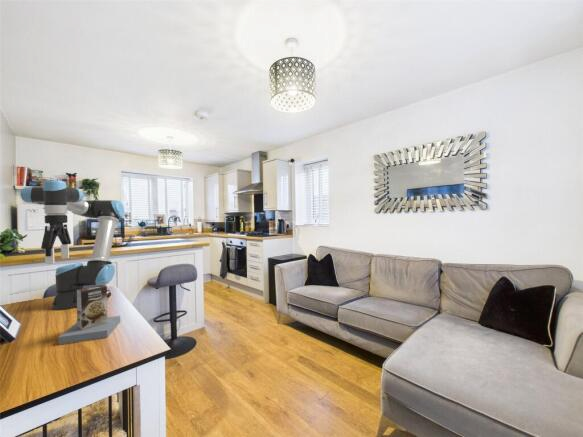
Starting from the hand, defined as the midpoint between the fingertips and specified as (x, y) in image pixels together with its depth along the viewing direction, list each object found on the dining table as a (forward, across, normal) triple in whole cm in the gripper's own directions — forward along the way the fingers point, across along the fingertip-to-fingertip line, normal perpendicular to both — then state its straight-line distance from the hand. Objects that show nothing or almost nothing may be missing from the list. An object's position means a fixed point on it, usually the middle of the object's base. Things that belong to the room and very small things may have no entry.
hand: (58, 260), depth 113 cm
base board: (+30, +15, +17) cm, 37 cm away
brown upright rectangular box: (+27, +14, +16) cm, 35 cm away
